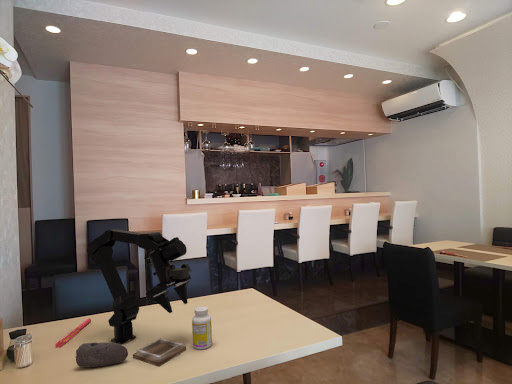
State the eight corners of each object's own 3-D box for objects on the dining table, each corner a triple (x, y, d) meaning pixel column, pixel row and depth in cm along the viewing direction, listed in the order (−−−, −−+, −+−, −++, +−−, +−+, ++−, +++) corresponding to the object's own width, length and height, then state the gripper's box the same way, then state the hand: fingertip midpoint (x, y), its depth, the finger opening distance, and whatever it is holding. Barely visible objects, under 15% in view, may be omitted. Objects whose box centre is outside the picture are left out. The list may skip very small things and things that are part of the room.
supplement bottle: (203, 339, 116) (202, 304, 117) (215, 344, 112) (214, 307, 113) (188, 346, 111) (187, 309, 112) (201, 352, 107) (200, 313, 107)
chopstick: (51, 350, 114) (64, 346, 114) (49, 345, 114) (62, 340, 114) (84, 324, 138) (94, 320, 138) (82, 320, 138) (92, 316, 138)
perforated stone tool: (130, 358, 104) (129, 336, 105) (126, 366, 99) (125, 344, 99) (81, 363, 102) (81, 341, 103) (74, 371, 97) (74, 348, 97)
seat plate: (132, 357, 104) (132, 351, 105) (160, 343, 115) (160, 336, 115) (159, 366, 98) (159, 359, 99) (186, 349, 109) (185, 343, 109)
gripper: (163, 262, 102) (181, 309, 99) (193, 252, 119) (210, 292, 117) (137, 275, 105) (154, 321, 103) (171, 263, 123) (186, 302, 120)
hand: (178, 308), depth 111 cm, fingers open, 9 cm apart
